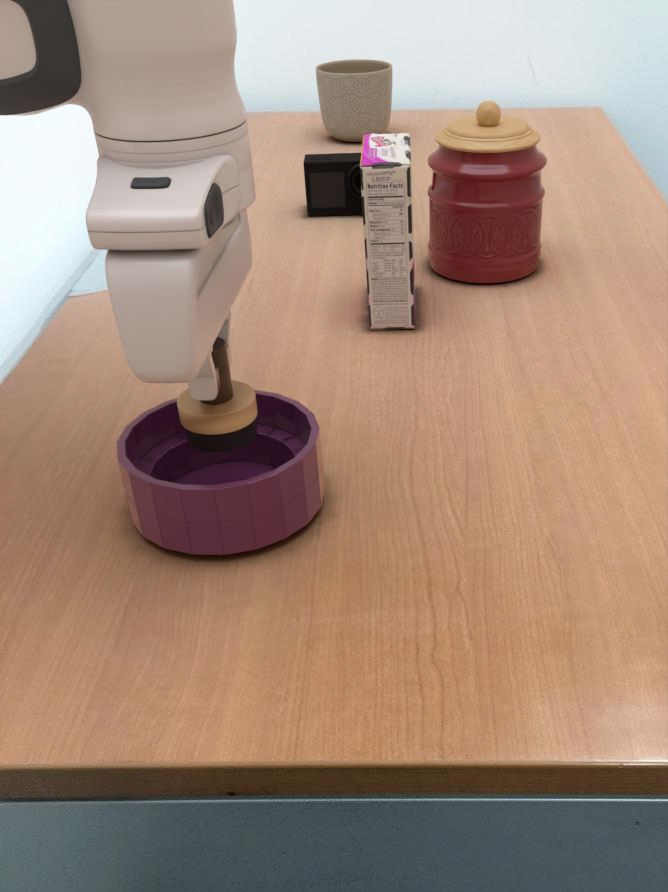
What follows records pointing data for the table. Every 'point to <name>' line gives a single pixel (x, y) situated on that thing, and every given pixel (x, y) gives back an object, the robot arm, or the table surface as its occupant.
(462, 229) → the kitchen canister
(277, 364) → the table surface
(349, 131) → the planter
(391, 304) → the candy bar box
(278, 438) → the bowl
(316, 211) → the digital camera
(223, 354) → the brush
